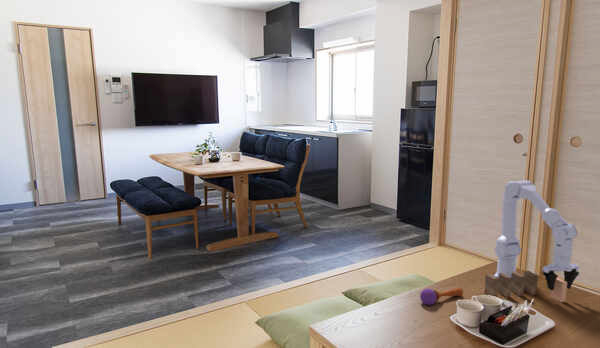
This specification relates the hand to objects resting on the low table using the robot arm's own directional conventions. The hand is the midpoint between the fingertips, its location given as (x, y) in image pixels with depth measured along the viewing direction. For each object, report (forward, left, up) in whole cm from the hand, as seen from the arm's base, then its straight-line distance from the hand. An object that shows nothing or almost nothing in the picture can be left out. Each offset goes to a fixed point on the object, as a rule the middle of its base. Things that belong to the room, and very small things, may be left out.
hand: (558, 288), depth 162 cm
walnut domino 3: (+4, -14, -4) cm, 15 cm away
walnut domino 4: (0, -10, -4) cm, 11 cm away
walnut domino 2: (+9, -18, -4) cm, 20 cm away
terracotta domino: (0, 0, -4) cm, 4 cm away
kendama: (+30, -35, -5) cm, 47 cm away
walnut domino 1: (+13, -22, -4) cm, 26 cm away
